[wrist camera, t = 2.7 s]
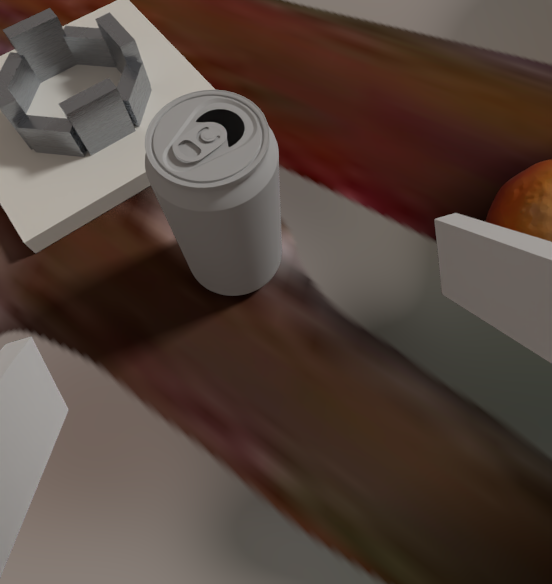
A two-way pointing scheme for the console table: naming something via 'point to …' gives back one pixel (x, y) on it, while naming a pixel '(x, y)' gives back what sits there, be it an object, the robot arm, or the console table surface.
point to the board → (90, 169)
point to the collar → (85, 105)
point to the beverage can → (218, 187)
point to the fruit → (526, 202)
